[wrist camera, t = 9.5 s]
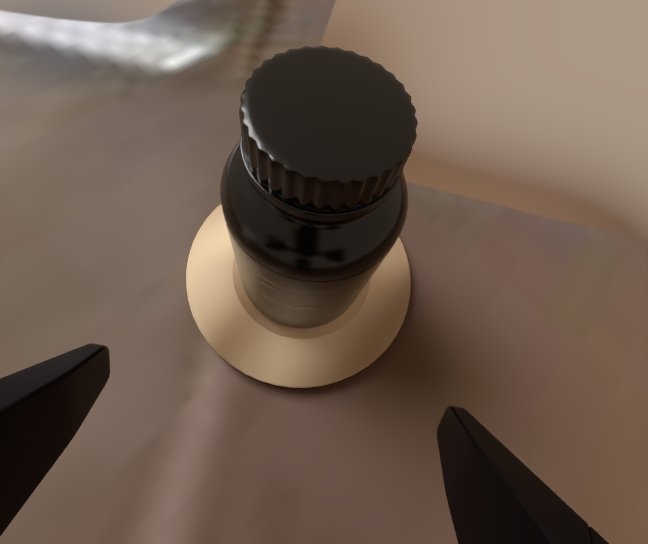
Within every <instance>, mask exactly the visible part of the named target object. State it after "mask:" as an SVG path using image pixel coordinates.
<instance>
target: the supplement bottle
mask: <svg viewBox="0 0 648 544" xmlns="http://www.w3.org/2000/svg"><path fill="white" fill-rule="evenodd" d="M415 111H416V110H415V107H414V106H413V105H412V103H411V96H410V95H409V94H408V93H407V92H406V91H405V89H404V86H403V84H402V83H400V82H399V81H398V80H396V78H395V76H394V75H393V74H392V73H390V72H388V71H386V70H385V69H384V68H383V66H382V65H380V64H378V63H375V62H372V61H371V60H370V59H369V58H368V57H364V56H360V55H358V54H356V53H355V52H353V51H344V50H342V49H339V48H327V47H324V46H318V47H307V46H305V47H302V48H300V49H290V50H288V51H287V52H285V53H280V54H276V55H275V56H274V57H273V58H272V59H269V60H266V61H264V62H263V63H262V65H261V67H259V68H257V69H255V70H254V71H253V73H252V77H251V78H249V79H248V80H247V81H246V83H245V90H244V91H243V92H242V94H241V106H240V111H239V116H240V124H241V136H240V141H239V142H238V143H237V144H236V146H235V147H234V149H233V150H232V152H231V154H230V155H229V157H228V159H227V162H226V164H225V166H224V169H223V173H222V178H221V184H220V197H221V205H222V210H223V214H224V218H225V222H226V226H227V230H228V233H229V237H230V241H231V244H232V248H233V252H234V255H235V259H236V263H237V266H238V270H239V274H240V277H241V281H242V284H243V287H244V290H245V292H246V294H247V296H248V298H249V300H250V301H251V303H252V304H253V305H254V307H255V308H256V309H257V310H258V311H259V312H260V313H261V314H263V315H264V316H265V317H267V318H268V319H270V320H271V321H273V322H275V323H278V324H280V325H283V326H287V327H291V328H300V329H305V328H315V327H319V326H322V325H325V324H327V323H330V322H332V321H333V320H335V319H337V318H338V317H339V316H341V315H342V314H343V313H344V312H345V311H346V310H347V309H348V308H349V307H350V306H351V305H352V303H353V302H354V301H355V300H356V298H357V297H358V295H359V294H360V293H361V291H362V290H363V288H364V287H365V285H366V284H367V283H368V281H369V280H370V278H371V277H372V276H373V274H374V273H375V271H376V270H377V268H378V267H379V266H380V264H381V263H382V261H383V260H384V259H385V257H386V256H387V254H388V253H389V251H390V250H391V249H392V247H393V246H394V244H395V242H396V240H397V239H398V237H399V235H400V233H401V231H402V229H403V226H404V223H405V220H406V215H407V209H408V192H407V186H406V181H405V178H404V174H403V167H404V165H405V163H406V161H407V159H408V157H409V155H410V153H411V150H412V146H413V144H414V142H415V140H416V127H417V124H418V123H417V119H416V117H415Z"/></svg>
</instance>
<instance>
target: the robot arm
mask: <svg viewBox="0 0 648 544" xmlns="http://www.w3.org/2000/svg"><path fill="white" fill-rule="evenodd" d="M109 375H110V358H109V349H108V347H107V346H104V345H98V344H87V345H85V346H82V347H80V348H77V349H74V350H72V351H69V352H67V353H64V354H62V355H59V356H57V357H54V358H52V359H49V360H46V361H44V362H41V363H39V364H36V365H34V366H31V367H29V368H26V369H24V370H21V371H18V372H16V373H13V374H11V375H8V376H6V377H3V378H1V379H0V536H1V535H2V533H3V532H4V531H5V529H6V528H7V527H8V525H9V524H10V523H11V521H12V520H13V518H14V517H15V516H16V514H17V513H18V512H19V510H20V509H21V508H22V506H23V505H24V504H25V502H26V501H27V500H28V498H29V497H30V496H31V494H32V493H33V491H34V490H35V489H36V487H37V486H38V485H39V483H40V482H41V481H42V479H43V478H44V477H45V475H46V474H47V473H48V471H49V470H50V469H51V467H52V466H53V464H54V463H55V462H56V460H57V459H58V458H59V456H60V455H61V454H62V452H63V451H64V450H65V448H66V447H67V446H68V444H69V443H70V441H71V440H72V439H73V437H74V436H75V434H76V432H77V431H78V429H79V428H80V426H81V424H82V423H83V421H84V419H85V418H86V416H87V414H88V413H89V411H90V409H91V408H92V406H93V404H94V403H95V401H96V399H97V398H98V396H99V394H100V393H101V391H102V389H103V388H104V386H105V384H106V382H107V381H108V378H109ZM437 440H438V446H439V453H440V459H441V466H442V473H443V479H444V486H445V491H446V496H447V501H448V505H449V509H450V513H451V517H452V521H453V524H454V528H455V532H456V536H457V540H458V544H609V543H608V542H607V541H606V540H604V539H603V538H602V537H601V536H600V535H599V534H598V533H597V532H596V531H595V530H594V529H593V528H592V527H588V524H587V523H586V522H585V521H584V520H583V519H582V518H581V517H580V516H579V515H578V514H577V513H576V512H574V511H573V510H572V509H571V508H570V507H569V506H568V505H567V504H566V503H565V502H564V501H563V500H562V499H561V498H560V497H558V496H557V495H556V494H555V493H554V492H553V491H552V490H551V489H550V488H549V487H548V486H547V485H546V484H545V483H543V482H542V481H541V480H540V479H539V478H538V477H537V476H536V475H535V474H534V473H533V472H532V471H531V470H530V469H529V468H527V467H526V466H525V465H524V464H523V463H522V462H521V461H520V460H519V459H518V458H517V457H516V456H515V455H514V454H512V453H511V452H510V451H509V450H508V449H507V448H506V447H505V446H504V445H503V444H502V443H501V442H500V441H499V440H498V439H496V438H495V437H494V436H493V435H492V434H491V433H490V432H489V431H488V430H487V429H486V428H485V427H484V426H483V425H481V424H480V423H479V422H478V421H477V420H476V419H475V418H474V417H473V416H472V415H471V414H470V413H469V412H468V411H467V410H465V409H464V408H461V407H455V406H449V407H447V409H446V410H445V413H444V415H443V417H442V419H441V422H440V424H439V426H438V429H437Z"/></svg>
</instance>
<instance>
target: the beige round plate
mask: <svg viewBox="0 0 648 544" xmlns="http://www.w3.org/2000/svg"><path fill="white" fill-rule="evenodd" d="M186 287H187V294H188V301H189V304H190V308H191V311H192V314H193V317H194V319H195V321H196V323H197V325H198V328H199V329H200V331H201V333H202V334H203V336H204V337H205V339H206V340H207V342H208V343H209V344H210V345H211V346H212V347H213V349H214V350H215V351H216V352H217V353H218V354H219V355H220V356H221V357H222V358H224V359H225V360H226V361H227V362H228V363H229V364H231V365H232V366H233V367H235V368H236V369H238V370H240V371H241V372H243V373H244V374H246V375H248V376H250V377H253V378H255V379H257V380H259V381H262V382H266V383H269V384H272V385H276V386H283V387H290V388H309V387H317V386H324V385H327V384H331V383H335V382H338V381H341V380H343V379H345V378H348V377H350V376H352V375H354V374H356V373H358V372H359V371H361V370H363V369H364V368H366V367H368V366H369V365H370V364H371V363H372V362H374V361H375V360H376V359H377V358H379V357H380V356H381V354H382V353H383V352H384V351H385V350H386V349H387V348H388V347H389V346H390V344H391V343H392V341H393V340H394V338H395V337H396V335H397V334H398V332H399V330H400V328H401V326H402V324H403V321H404V318H405V315H406V312H407V309H408V304H409V299H410V288H411V279H410V268H409V264H408V259H407V255H406V253H405V250H404V247H403V244H402V242H401V240H400V238H399V237H398V239H397V240H396V242H395V244H394V246H393V247H392V249H391V250H390V251H389V253H388V254H387V256H386V257H385V259H384V260H383V261H382V263H381V264H380V266H379V267H378V268H377V270H376V271H375V273H374V274H373V276H372V277H371V278H370V280H369V281H368V283H367V284H366V285H365V287H364V288H363V290H362V291H361V293H360V294H359V295H358V297H357V298H356V300H355V301H354V302H353V303H352V305H351V306H350V307H349V308H348V309H347V310H346V311H345V312H344V313H343V314H342V315H341V316H339V317H338V318H337V319H335V320H333V321H332V322H330V323H327V324H325V325H322V326H319V327H315V328H305V329H300V328H291V327H287V326H283V325H280V324H278V323H275V322H273V321H271V320H270V319H268V318H267V317H265V316H264V315H263V314H261V313H260V312H259V311H258V310H257V309H256V308H255V307H254V305H253V304H252V303H251V301H250V300H249V298H248V296H247V294H246V292H245V290H244V287H243V284H242V281H241V277H240V274H239V270H238V266H237V263H236V259H235V255H234V252H233V248H232V244H231V241H230V237H229V233H228V230H227V226H226V222H225V218H224V214H223V210H222V205H221V204H220V205H219V206H218V207H217V208H216V209H215V210H214V211H213V212H212V213H211V214H210V215H209V217H208V218H207V219H206V220H205V222H204V223H203V225H202V227H201V228H200V230H199V231H198V233H197V235H196V238H195V240H194V242H193V244H192V248H191V251H190V254H189V258H188V264H187V271H186Z"/></svg>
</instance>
